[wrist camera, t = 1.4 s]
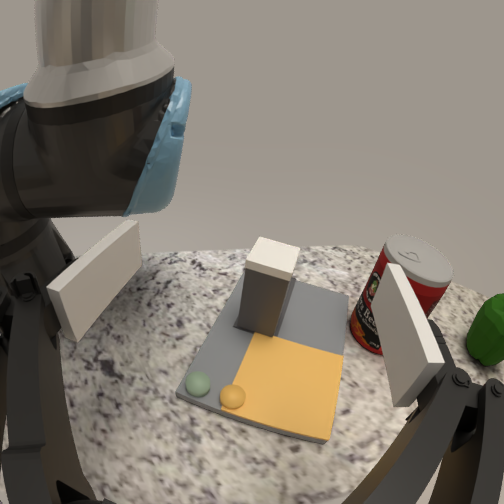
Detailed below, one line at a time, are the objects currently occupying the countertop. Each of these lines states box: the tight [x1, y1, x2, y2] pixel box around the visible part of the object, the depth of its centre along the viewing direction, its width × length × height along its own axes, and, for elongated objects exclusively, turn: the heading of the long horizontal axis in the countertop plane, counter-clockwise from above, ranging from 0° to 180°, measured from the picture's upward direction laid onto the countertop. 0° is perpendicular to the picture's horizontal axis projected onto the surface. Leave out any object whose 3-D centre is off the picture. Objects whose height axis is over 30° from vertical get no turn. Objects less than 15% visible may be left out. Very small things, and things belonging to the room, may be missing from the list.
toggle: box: [237, 237, 300, 337], centre depth 26 cm, size 4×4×8 cm
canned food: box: [350, 235, 454, 355], centre depth 27 cm, size 8×8×11 cm
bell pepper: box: [466, 293, 504, 366], centre depth 25 cm, size 8×8×10 cm
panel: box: [175, 271, 349, 444], centre depth 27 cm, size 13×18×2 cm
